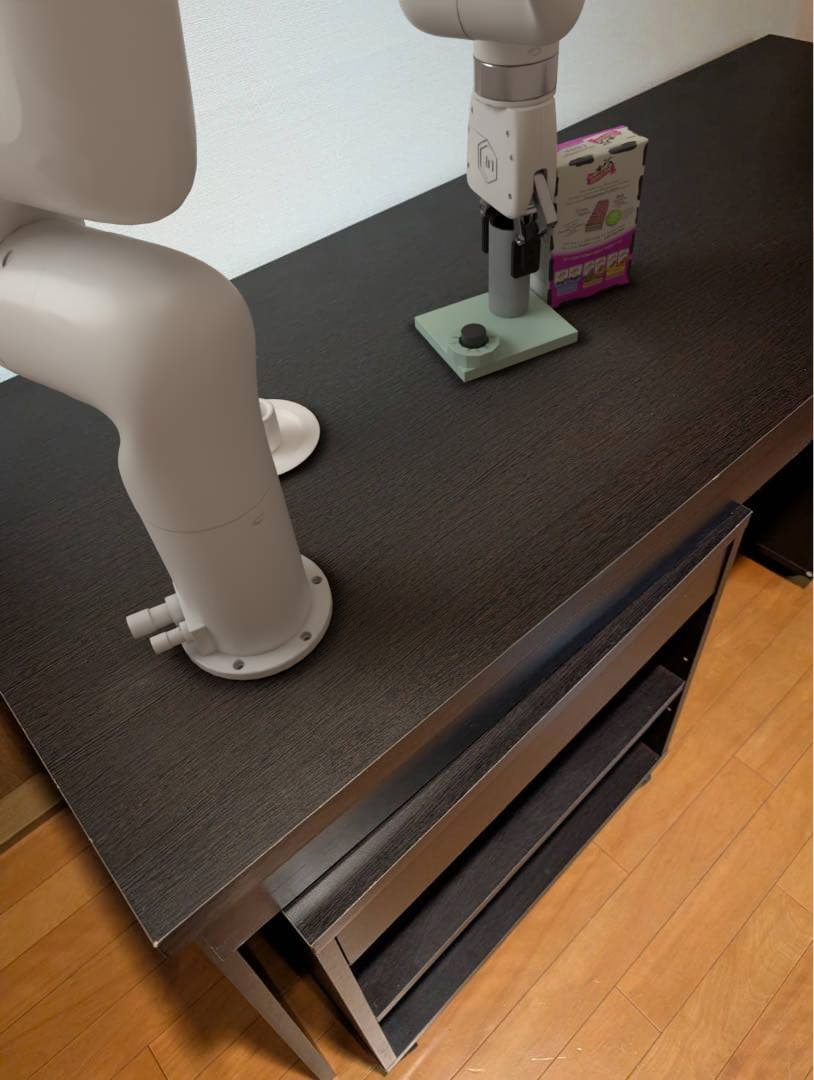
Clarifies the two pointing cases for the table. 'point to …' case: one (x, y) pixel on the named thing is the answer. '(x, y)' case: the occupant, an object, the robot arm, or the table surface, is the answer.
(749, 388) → the table surface
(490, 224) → the planter
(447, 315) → the pale green base plate
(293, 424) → the candle holder
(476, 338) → the button
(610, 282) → the candy bar box
